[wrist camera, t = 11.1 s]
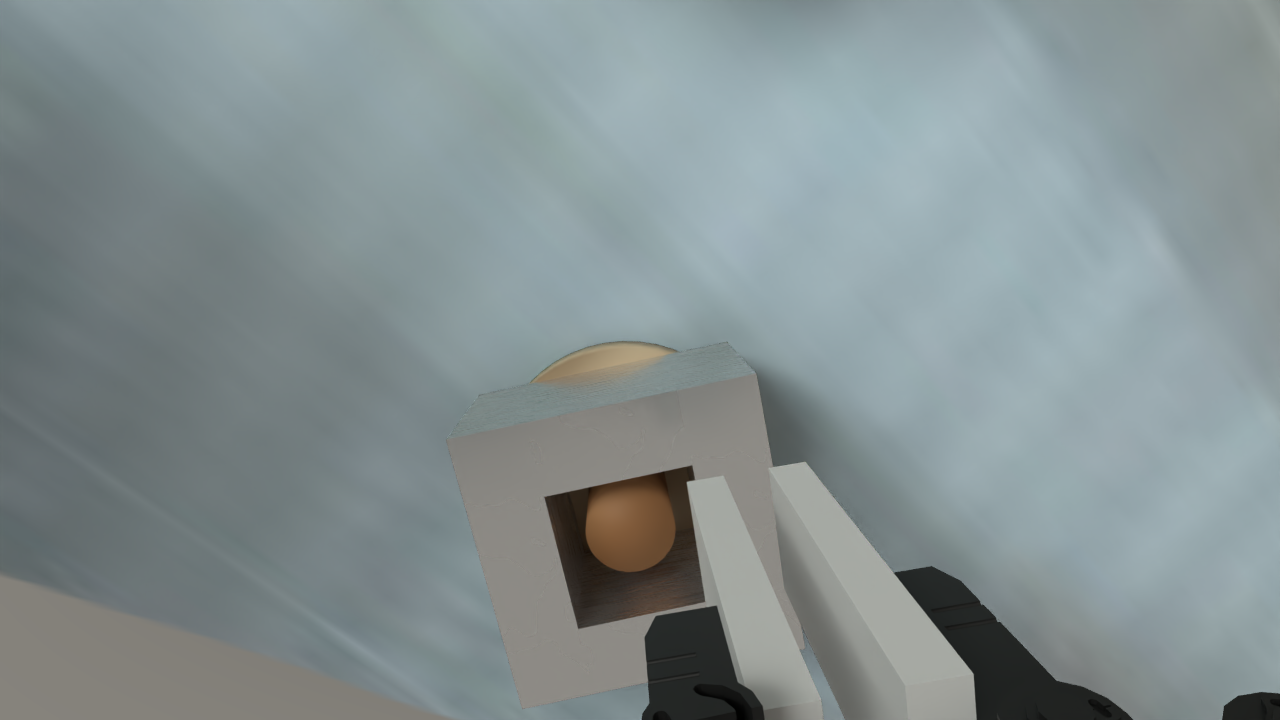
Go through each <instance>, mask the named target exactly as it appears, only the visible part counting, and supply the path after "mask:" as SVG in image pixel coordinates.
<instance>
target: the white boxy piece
mask: <svg viewBox="0 0 1280 720" xmlns="http://www.w3.org/2000/svg"><path fill="white" fill-rule="evenodd" d="M446 441H447V445H448V448H449V452H450V456H451V459H452V463H453V466H454V470H455V473H456V477H457V480H458V484H459V487H460V491H461V494H462V498H463V501H464V505H465V508H466V512H467V516H468V519H469V523H470V526H471V530H472V533H473V537H474V540H475V544H476V547H477V551H478V554H479V558H480V561H481V565H482V568H483V572H484V575H485V579H486V583H487V586H488V590H489V593H490V597H491V600H492V604H493V607H494V611H495V614H496V618H497V621H498V625H499V628H500V632H501V635H502V639H503V643H504V646H505V650H506V653H507V657H508V660H509V664H510V667H511V671H512V674H513V678H514V681H515V685H516V688H517V692H518V695H519V699H520V702H521V706H522V709H525V708H530V707H534V706H539V705H544V704H549V703H553V702H558V701H563V700H567V699H572V698H577V697H581V696H586V695H591V694H596V693H600V692H605V691H610V690H614V689H619V688H624V687H628V686H633V685H638V684H643V683H647V682H648V677H647V662H646V652H645V640H644V637H645V635H646V633H647V632H648V630H649V628H650V626H651V624H652V622H653V620H654V618H655V616H658V615H664V614H670V613H675V612H681V611H687V610H693V609H699V608H705V607H707V606H706V602H705V595H704V589H703V583H702V576H701V570H700V564H699V557H698V551H697V544H696V538H695V532H694V527H692V528H688V529H683V530H678V531H675V539H674V542H673V545H672V547H671V549H670V551H669V552H668V553H667V555H666V556H665V557H664V558H663V559H662V560H661V561H660V562H659V563H657V564H656V565H654V566H652V567H650V568H648V569H645V570H641V571H636V572H624V571H618V570H615V569H612V568H610V567H608V566H606V565H604V564H603V563H602V562H600V561H599V560H598V559H597V558H596V557H595V556H594V554H593V553H592V551H591V550H590V549H589V550H584V548H583V543H582V539H581V535H580V531H579V527H578V523H577V519H576V515H575V511H574V507H573V503H572V499H571V495H570V491H574V490H579V489H584V488H588V487H593V486H598V485H602V484H607V483H612V482H616V481H621V480H626V479H630V478H635V477H640V476H645V475H649V474H654V473H659V472H663V471H668V470H673V469H677V468H682V467H687V471H688V476H689V481H695V480H701V479H706V478H712V477H718V476H724V478H725V480H726V482H727V485H728V487H729V489H730V492H731V494H732V496H733V498H734V501H735V503H736V505H737V508H738V510H739V512H740V514H741V517H742V519H743V521H744V524H745V526H746V528H747V531H748V533H749V535H750V537H751V540H752V542H753V544H754V547H755V549H756V551H757V554H758V556H759V558H760V560H761V563H762V565H763V567H764V570H765V572H766V574H767V576H768V579H769V581H770V583H771V586H772V588H773V590H774V593H775V595H776V597H777V599H778V602H779V604H780V606H781V609H782V611H783V613H784V615H785V618H786V620H787V622H788V625H789V627H790V629H791V632H792V634H793V636H794V638H795V641H796V643H797V645H798V648H799V650H802V649H805V644H804V639H803V633H802V628H801V624H800V621H799V619H798V617H797V615H796V613H795V611H794V609H793V606H792V604H791V602H790V600H789V598H788V596H787V594H786V591H785V589H784V584H783V576H782V568H781V560H780V553H779V545H778V537H777V530H776V522H775V514H774V507H773V499H772V491H771V483H770V476H769V468H771V467H773V464H772V458H771V453H770V447H769V441H768V436H767V430H766V424H765V419H764V413H763V408H762V402H761V396H760V391H759V385H758V379H757V374H756V372H755V371H754V370H753V369H752V368H751V367H750V366H749V365H748V364H747V363H746V362H745V361H744V359H743V358H742V357H741V356H740V355H739V354H738V353H737V352H736V351H735V350H734V349H733V348H732V346H731V345H730V344H729V343H728V342H723V343H719V344H714V345H709V346H704V347H700V348H695V349H690V350H686V351H681V352H676V353H672V354H667V355H662V356H658V357H653V358H648V359H644V360H639V361H634V362H630V363H625V364H620V365H616V366H611V367H606V368H601V369H597V370H592V371H587V372H583V373H578V374H573V375H569V376H564V377H559V378H555V379H550V380H545V381H541V382H536V383H531V384H527V385H522V386H517V387H512V388H508V389H503V390H498V391H494V392H489V393H484V394H480V395H478V397H477V398H476V399H475V401H474V402H473V404H472V405H471V406H470V408H469V409H468V410H467V412H466V413H465V414H464V416H463V417H462V419H461V420H460V421H459V423H458V424H457V425H456V427H455V428H454V429H453V431H452V432H451V434H450V435H449V436H448V438H447V439H446Z"/></svg>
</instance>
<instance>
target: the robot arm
mask: <svg viewBox="0 0 1280 720" xmlns="http://www.w3.org/2000/svg"><path fill="white" fill-rule="evenodd" d="M769 476H770V483H771V491H772V499H773V507H774V514H775V522H776V530H777V537H778V545H779V553H780V560H781V568H782V576H783V584H784V589H785V591H786V594H787V596H788V598H789V600H790V602H791V604H792V606H793V609H794V611H795V613H796V615H797V617H798V619H799V621H800V624H801V626H802V628H803V630H804V632H805V634H806V636H807V639H808V641H809V643H810V645H811V647H812V649H813V651H814V654H815V656H816V658H817V660H818V662H819V664H820V667H821V669H822V671H823V673H824V675H825V677H826V679H827V682H828V684H829V686H830V688H831V690H832V692H833V694H834V697H835V699H836V701H837V703H838V705H839V707H840V709H841V712H842V714H843V716H844V718H845V720H1133V719H1132V718H1131V717H1130V716H1129V715H1128V714H1127V713H1126V712H1125V711H1123V710H1122V709H1121V708H1119V707H1118V706H1117V705H1116V704H1114V703H1113V702H1112V701H1110V700H1109V699H1108V698H1106V697H1104V696H1102V695H1099V694H1097V693H1095V692H1093V691H1091V690H1088V689H1086V688H1084V687H1081V686H1077V685H1072V684H1068V683H1063V682H1059V681H1056V680H1055V679H1054V678H1053V677H1052V676H1051V675H1050V674H1049V673H1048V671H1047V670H1046V669H1045V668H1044V667H1043V666H1042V665H1041V664H1040V663H1039V662H1038V661H1037V660H1036V659H1035V658H1034V657H1033V656H1032V655H1031V654H1030V653H1029V652H1028V651H1027V650H1026V649H1025V648H1024V646H1023V645H1022V644H1021V643H1020V642H1019V641H1018V640H1017V639H1016V638H1015V637H1014V636H1013V635H1012V634H1011V633H1010V632H1009V631H1008V630H1007V629H1006V628H1005V627H1004V626H1003V625H1002V624H1001V622H997V620H996V617H995V616H994V615H993V614H992V613H991V612H990V611H989V610H988V609H987V608H986V607H985V606H984V605H981V604H980V601H979V600H978V599H977V597H976V596H975V595H974V594H973V593H972V592H971V591H970V590H969V589H968V588H967V587H966V586H965V585H964V584H963V583H962V582H961V581H960V580H958V579H956V578H954V577H952V576H950V575H948V574H946V573H944V572H942V571H940V570H938V569H936V568H934V567H932V566H931V567H925V568H919V569H913V570H907V571H901V572H896V573H893V572H892V570H891V569H890V568H889V567H888V565H887V564H886V563H885V562H884V560H883V559H882V558H881V557H880V555H879V554H878V553H877V551H876V550H875V549H874V548H873V546H872V545H871V544H870V543H869V541H868V540H867V539H866V538H865V536H864V535H863V534H862V533H861V531H860V530H859V529H858V528H857V526H856V525H855V524H854V522H853V521H852V520H851V519H850V517H849V516H848V515H847V514H846V512H845V511H844V510H843V509H842V507H841V506H840V505H839V504H838V502H837V501H836V500H835V499H834V497H833V496H832V495H831V493H830V492H829V491H828V490H827V488H826V487H825V486H824V485H823V483H822V482H821V481H820V480H819V478H818V477H817V476H816V475H815V473H814V472H813V471H812V470H811V468H810V467H809V466H808V464H807V463H806V462H801V463H795V464H789V465H783V466H777V467H771V468H769ZM687 487H688V494H689V500H690V506H691V513H692V519H693V525H694V532H695V538H696V544H697V551H698V557H699V564H700V570H701V576H702V583H703V589H704V595H705V602H706V606H707V607H705V608H699V609H693V610H687V611H681V612H675V613H670V614H664V615H658V616H655V618H654V620H653V622H652V624H651V626H650V628H649V630H648V632H647V633H646V635H645V637H644V640H645V652H646V662H647V677H648V689H649V702H650V703H649V705H648V706H647V708H646V709H645V711H644V712H643V715H642V720H824V718H823V709H822V701H821V698H820V696H819V694H818V691H817V689H816V687H815V684H814V682H813V680H812V677H811V675H810V673H809V671H808V668H807V666H806V664H805V661H804V659H803V657H802V654H801V652H800V650H799V648H798V645H797V643H796V641H795V638H794V636H793V634H792V632H791V629H790V627H789V625H788V622H787V620H786V618H785V615H784V613H783V611H782V609H781V606H780V604H779V602H778V599H777V597H776V595H775V593H774V590H773V588H772V586H771V583H770V581H769V579H768V576H767V574H766V572H765V570H764V567H763V565H762V563H761V560H760V558H759V556H758V554H757V551H756V549H755V547H754V544H753V542H752V540H751V537H750V535H749V533H748V531H747V528H746V526H745V524H744V521H743V519H742V517H741V514H740V512H739V510H738V508H737V505H736V503H735V501H734V498H733V496H732V494H731V492H730V489H729V487H728V485H727V482H726V480H725V478H724V476H718V477H712V478H706V479H701V480H695V481H689V482H687ZM1222 720H1280V694H1278V693H1266V692H1259V693H1253V694H1247V695H1241V696H1237V697H1236V698H1235V699H1233V700H1232V701H1230V702H1229V703H1228V704H1226V705H1225V706H1224V711H1223V718H1222Z"/></svg>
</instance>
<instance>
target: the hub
mask: <svg viewBox="0 0 1280 720" xmlns="http://www.w3.org/2000/svg"><path fill="white" fill-rule="evenodd" d="M676 352H678V351H676V350H674V349H671V348H667V347H664V346H661V345H657V344H651V343H645V342H633V341H619V342H609V343H602V344H598V345H594V346H590V347H586V348H584V349H581V350H578V351H576V352H573V353H571V354H569V355H567V356H565V357H563V358H561V359H559V360H558V361H556V362H554V363H553V364H552V365H550V366H549V367H547V368H546V369H545V370H543V371H542V372H541V373H540V374H539V375H538V376H537V377H536V378H534V379H533V380H532V381H531V382H530V383H529V384H531V383H536V382H541V381H545V380H550V379H555V378H559V377H564V376H569V375H573V374H578V373H583V372H587V371H592V370H597V369H601V368H606V367H611V366H616V365H620V364H625V363H630V362H634V361H639V360H644V359H648V358H653V357H658V356H662V355H667V354H672V353H676ZM687 482H689V476H688V471H687V467H682V468H677V469H673V470H668V471H663V472H659V473H654V474H649V475H645V476H640V477H635V478H630V479H626V480H621V481H616V482H612V483H607V484H602V485H598V486H593V487H588V488H584V489H579V490H574V491H570V495H571V499H572V503H573V507H574V511H575V515H576V519H577V523H578V527H579V531H580V535H581V539H582V543H583V548H584V550H589V549H590V550H591V551H592V553H593V554H594V556H595V557H596V558H597V559H598V560H599V561H600V562H602V563H603V564H604V565H606V566H608V567H610V568H612V569H615V570H618V571H624V572H636V571H641V570H645V569H648V568H650V567H652V566H654V565H656V564H657V563H659V562H660V561H661V560H662V559H663V558H664V557H665V556H666V555H667V553H668V552H669V551H670V549H671V547H672V545H673V542H674V539H675V531H678V530H683V529H688V528H692V527H694V525H693V519H692V513H691V506H690V500H689V494H688V487H687Z"/></svg>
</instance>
